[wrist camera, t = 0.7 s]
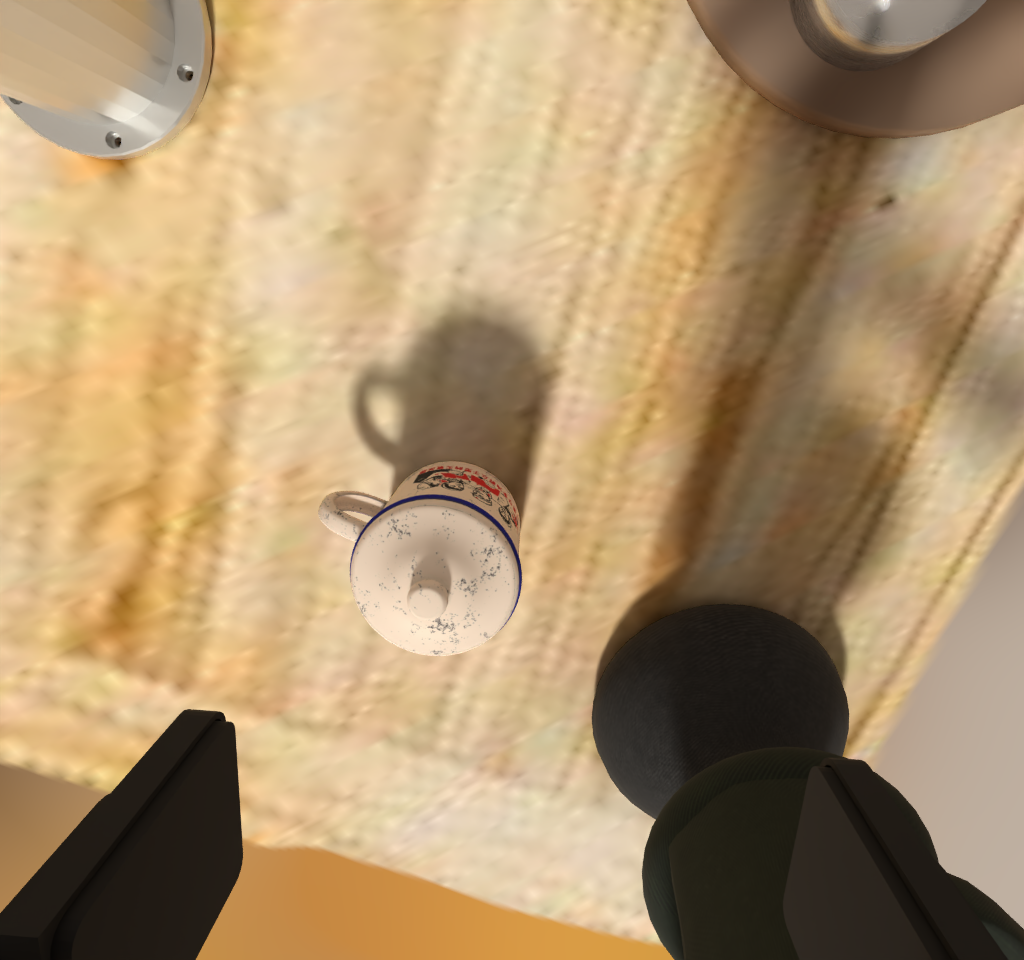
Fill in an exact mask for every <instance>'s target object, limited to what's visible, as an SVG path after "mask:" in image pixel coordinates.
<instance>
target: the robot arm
mask: <svg viewBox="0 0 1024 960" xmlns="http://www.w3.org/2000/svg"><path fill="white" fill-rule="evenodd" d="M211 59H212V39H211V26H210V21H209V16H208V11H207V6H206V2H205V0H0V96H1V98H2V99H3V101H4V102H5V103H6V104H7V105H8V106H9V108H10V109H11V110H12V111H13V112H14V113H15V114H16V115H17V117H18V118H19V119H20V120H21V121H23V122H24V123H25V124H26V125H27V126H29V127H30V128H31V129H32V130H34V131H35V132H36V133H37V134H38V135H40V136H42V137H43V138H45V139H47V140H49V141H51V142H52V143H54V144H56V145H58V146H59V147H62V148H65V149H68V150H70V151H73V152H76V153H79V154H82V155H87V156H91V157H95V158H99V159H117V160H123V159H128V158H134V157H139V156H143V155H145V154H148V153H150V152H152V151H155V150H157V149H159V148H161V147H162V146H164V145H165V144H166V143H168V142H169V141H171V140H172V139H173V138H175V137H176V136H177V135H178V134H179V133H180V132H181V131H182V129H183V128H184V127H185V126H186V125H187V124H188V123H189V122H190V120H191V119H192V117H193V115H194V113H195V112H196V110H197V108H198V106H199V105H200V103H201V101H202V98H203V95H204V92H205V89H206V86H207V83H208V80H209V74H210V66H211ZM192 73H193V78H192V79H191V81H190V75H191V74H192ZM120 140H121V145H119V142H120ZM242 860H243V848H242V831H241V815H240V799H239V783H238V767H237V751H236V735H235V726H234V724H233V723H232V722H226V719H225V716H224V714H223V713H222V712H218V711H205V710H191V709H187V710H184V711H183V712H182V713H181V714H180V715H179V716H178V717H177V718H176V719H175V720H174V721H173V723H172V724H171V725H170V726H169V727H168V728H167V729H166V731H165V732H164V733H163V734H162V735H161V736H160V737H159V739H158V740H157V741H156V742H155V743H154V744H153V746H152V747H151V748H150V749H149V750H148V751H147V752H146V754H145V755H144V756H143V757H142V758H141V759H140V760H139V762H138V763H137V764H136V765H135V766H134V767H133V768H132V770H131V771H130V772H129V773H128V774H127V775H126V776H125V778H124V779H123V780H122V781H121V782H120V783H119V784H118V786H117V787H116V788H115V789H114V790H113V791H112V793H110V794H108V795H106V796H105V797H104V798H103V799H101V801H99V802H98V803H97V804H96V805H95V807H94V808H93V809H92V810H91V811H90V812H89V813H88V814H87V816H86V817H85V818H84V819H83V820H82V821H81V822H80V824H79V825H78V826H77V827H76V828H75V829H74V830H73V831H72V833H71V834H70V835H69V836H68V837H67V839H65V841H64V842H63V843H62V844H61V845H60V846H59V847H58V849H57V850H56V851H55V852H54V853H53V854H52V855H51V856H50V858H49V859H48V860H47V861H46V862H45V863H44V864H43V865H42V867H41V868H40V869H39V870H38V871H37V872H36V873H35V875H34V876H33V877H32V878H31V879H30V880H29V881H28V882H27V884H26V885H25V886H24V887H23V888H22V889H21V891H20V892H19V893H18V894H17V895H16V896H15V897H14V898H13V900H12V901H11V902H10V903H9V904H8V905H7V906H6V907H5V909H4V910H3V911H2V912H1V913H0V960H196V958H197V956H198V954H199V952H200V950H201V948H202V946H203V944H204V942H205V941H206V939H207V937H208V935H209V933H210V931H211V929H212V927H213V925H214V923H215V921H216V919H217V918H218V916H219V914H220V912H221V910H222V908H223V906H224V904H225V902H226V901H227V899H228V897H229V895H230V893H231V891H232V889H233V887H234V885H235V883H236V881H237V879H238V877H239V873H240V870H241V866H242ZM783 911H784V918H785V923H786V926H787V929H788V931H789V934H790V936H791V939H792V941H793V944H794V947H795V949H796V952H797V954H798V957H799V959H800V960H1008V959H1007V957H1006V956H1005V954H1004V953H1003V952H1002V950H1001V949H1000V947H999V946H998V944H997V943H996V942H995V940H994V939H993V937H992V936H991V935H990V933H989V932H988V930H987V929H986V928H985V926H984V925H983V923H982V922H981V920H980V919H979V918H978V916H977V915H976V913H975V912H974V911H973V909H972V908H971V906H970V905H969V904H968V902H967V901H966V899H965V898H964V896H963V895H962V894H961V892H960V891H959V889H958V888H957V887H956V885H955V884H954V882H953V881H952V879H951V878H950V877H949V875H948V874H947V872H946V871H945V870H944V869H943V868H942V867H941V865H940V864H939V863H938V862H937V861H936V860H935V859H934V858H933V856H932V855H931V853H930V852H929V850H928V849H927V848H926V846H925V845H924V843H923V842H922V840H921V839H920V838H919V836H918V835H917V833H916V832H915V831H914V829H913V828H912V826H911V825H910V823H909V822H908V821H907V819H906V818H905V816H904V815H903V813H902V812H901V811H900V809H899V808H898V806H897V805H896V804H895V802H894V801H893V799H892V798H891V796H890V795H889V794H888V792H887V791H886V789H885V788H884V786H883V785H882V784H881V782H880V781H879V779H878V778H877V777H876V775H875V774H874V772H873V771H872V769H871V768H870V767H869V765H868V764H867V763H866V762H864V761H862V760H854V759H841V758H824V759H823V760H822V762H821V764H820V767H819V766H814V767H812V768H811V770H810V772H809V776H808V781H807V786H806V791H805V796H804V801H803V805H802V810H801V815H800V820H799V825H798V830H797V835H796V839H795V844H794V849H793V854H792V859H791V864H790V869H789V873H788V878H787V883H786V888H785V893H784V899H783Z"/></svg>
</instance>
